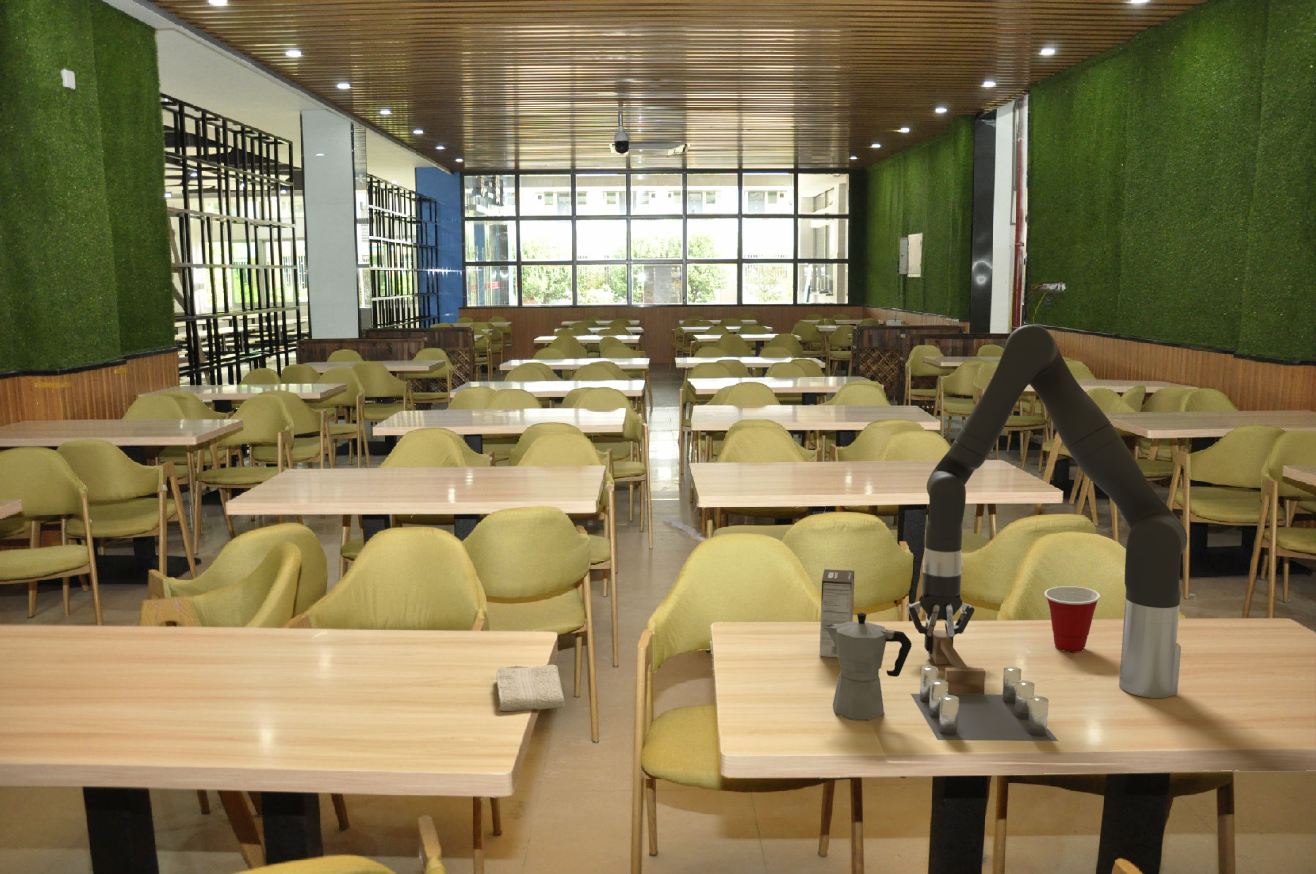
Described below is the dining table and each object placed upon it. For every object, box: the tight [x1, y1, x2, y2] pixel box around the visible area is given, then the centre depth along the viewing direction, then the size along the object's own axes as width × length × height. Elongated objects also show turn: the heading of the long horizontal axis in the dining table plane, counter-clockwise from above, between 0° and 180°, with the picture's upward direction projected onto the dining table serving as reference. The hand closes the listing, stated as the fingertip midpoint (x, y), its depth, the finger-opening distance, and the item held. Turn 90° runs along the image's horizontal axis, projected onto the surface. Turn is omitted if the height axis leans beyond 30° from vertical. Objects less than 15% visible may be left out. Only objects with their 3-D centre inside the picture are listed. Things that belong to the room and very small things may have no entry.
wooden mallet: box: [928, 629, 986, 694], centre depth 211 cm, size 7×22×5 cm, turn 0°
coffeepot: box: [824, 612, 912, 722], centre depth 191 cm, size 15×9×18 cm, turn 66°
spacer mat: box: [910, 693, 1059, 742], centre depth 190 cm, size 20×20×1 cm
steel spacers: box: [919, 664, 1049, 737], centre depth 190 cm, size 18×17×6 cm
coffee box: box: [819, 568, 856, 658], centre depth 223 cm, size 9×6×16 cm
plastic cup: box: [1044, 585, 1101, 653], centre depth 226 cm, size 11×11×12 cm
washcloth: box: [496, 664, 566, 712], centre depth 200 cm, size 12×18×3 cm, turn 11°
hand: (938, 652), depth 220 cm, fingers closed on wooden mallet, 2 cm apart
